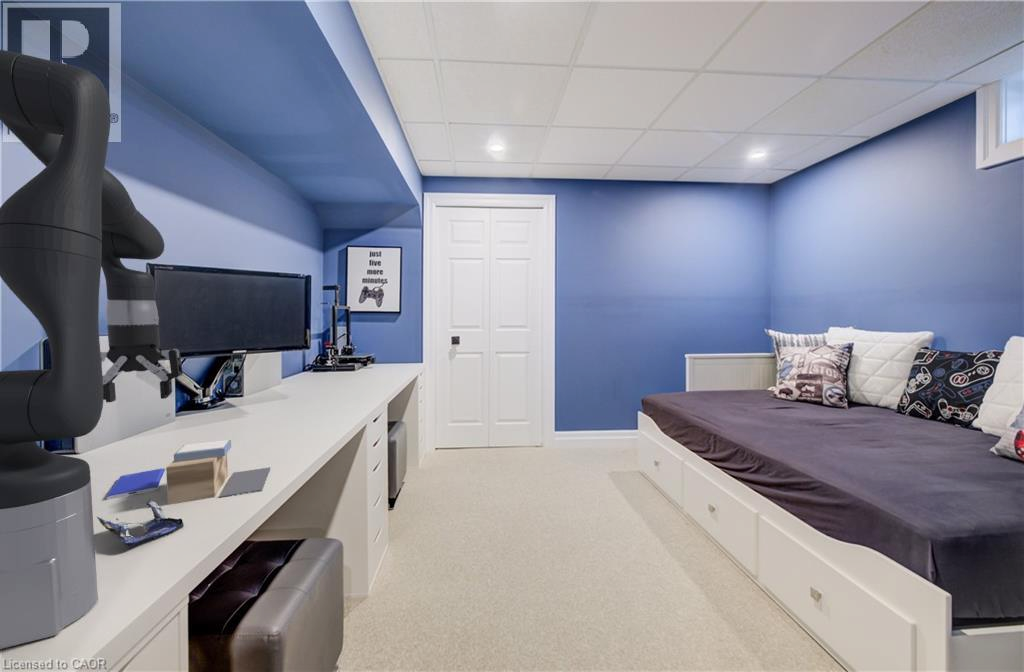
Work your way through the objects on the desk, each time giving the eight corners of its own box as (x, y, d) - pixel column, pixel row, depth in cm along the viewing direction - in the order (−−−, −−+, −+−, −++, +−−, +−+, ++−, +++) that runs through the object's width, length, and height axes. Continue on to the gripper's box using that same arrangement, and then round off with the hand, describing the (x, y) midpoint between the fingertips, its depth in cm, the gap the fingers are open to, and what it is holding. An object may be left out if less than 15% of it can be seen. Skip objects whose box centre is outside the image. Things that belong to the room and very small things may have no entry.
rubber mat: (262, 490, 87) (262, 489, 87) (219, 497, 84) (219, 496, 84) (270, 468, 100) (270, 467, 100) (233, 473, 97) (233, 472, 97)
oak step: (214, 496, 84) (213, 461, 84) (168, 504, 81) (166, 467, 80) (227, 476, 95) (226, 444, 95) (187, 481, 92) (185, 449, 91)
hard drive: (119, 475, 93) (106, 495, 83) (164, 467, 98) (157, 485, 88) (120, 482, 93) (106, 502, 83) (165, 473, 98) (157, 492, 88)
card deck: (224, 456, 87) (224, 447, 87) (174, 462, 83) (173, 453, 83) (231, 447, 93) (230, 439, 93) (184, 452, 89) (183, 444, 89)
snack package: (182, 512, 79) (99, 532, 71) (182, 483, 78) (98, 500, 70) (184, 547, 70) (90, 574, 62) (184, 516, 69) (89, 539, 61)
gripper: (74, 323, 72) (81, 407, 73) (171, 323, 78) (175, 400, 80) (96, 321, 79) (102, 398, 80) (183, 321, 85) (187, 393, 86)
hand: (138, 399), depth 80 cm, fingers open, 8 cm apart
